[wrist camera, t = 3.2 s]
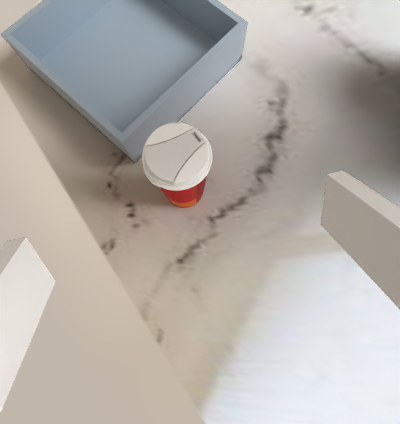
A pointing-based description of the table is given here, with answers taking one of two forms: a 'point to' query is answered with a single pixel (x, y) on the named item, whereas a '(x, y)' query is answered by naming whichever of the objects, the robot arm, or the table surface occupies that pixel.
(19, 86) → the table surface
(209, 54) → the bin
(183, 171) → the paper cup
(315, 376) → the table surface
